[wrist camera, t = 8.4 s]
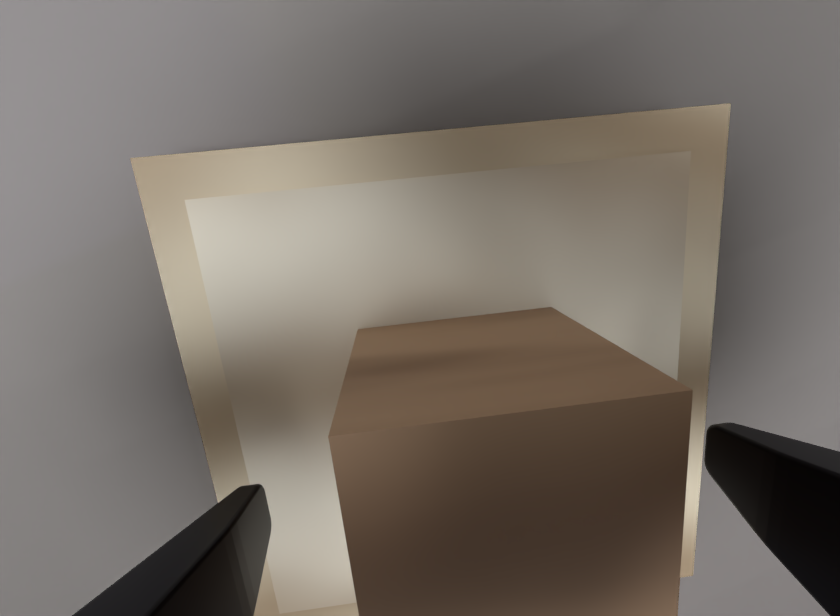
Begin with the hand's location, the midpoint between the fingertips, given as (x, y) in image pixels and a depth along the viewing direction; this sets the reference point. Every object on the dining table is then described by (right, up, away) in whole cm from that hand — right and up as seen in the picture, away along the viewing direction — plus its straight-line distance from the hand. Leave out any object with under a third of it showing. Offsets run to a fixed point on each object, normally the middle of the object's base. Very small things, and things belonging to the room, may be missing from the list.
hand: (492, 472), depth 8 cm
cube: (0, +1, +3) cm, 3 cm away
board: (0, +1, +5) cm, 5 cm away
